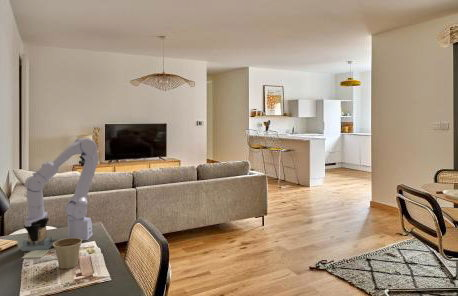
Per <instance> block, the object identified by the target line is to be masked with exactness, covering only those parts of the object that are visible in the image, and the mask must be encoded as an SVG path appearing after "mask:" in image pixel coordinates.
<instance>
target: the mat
mask: <svg viewBox="0 0 458 296" xmlns="http://www.w3.org/2000/svg"><path fill="white" fill-rule="evenodd" d="M49 252H50V249H48V250H35V251H28V252H27V253H26V254H25V255H23V256H22V257H21V258H22V259H42V258H43V257H44V256H45V255H46V254H48V253H49Z"/></svg>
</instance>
